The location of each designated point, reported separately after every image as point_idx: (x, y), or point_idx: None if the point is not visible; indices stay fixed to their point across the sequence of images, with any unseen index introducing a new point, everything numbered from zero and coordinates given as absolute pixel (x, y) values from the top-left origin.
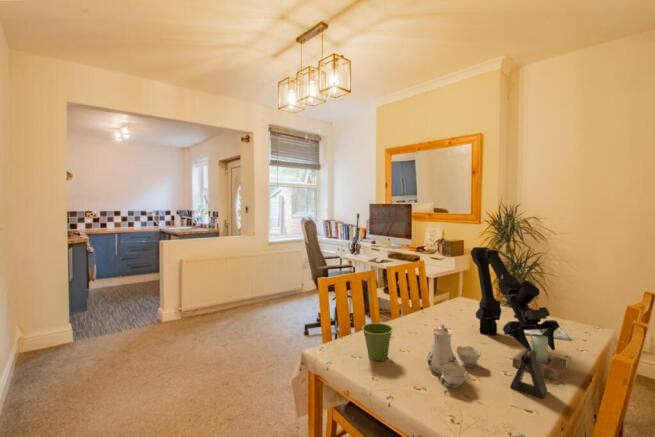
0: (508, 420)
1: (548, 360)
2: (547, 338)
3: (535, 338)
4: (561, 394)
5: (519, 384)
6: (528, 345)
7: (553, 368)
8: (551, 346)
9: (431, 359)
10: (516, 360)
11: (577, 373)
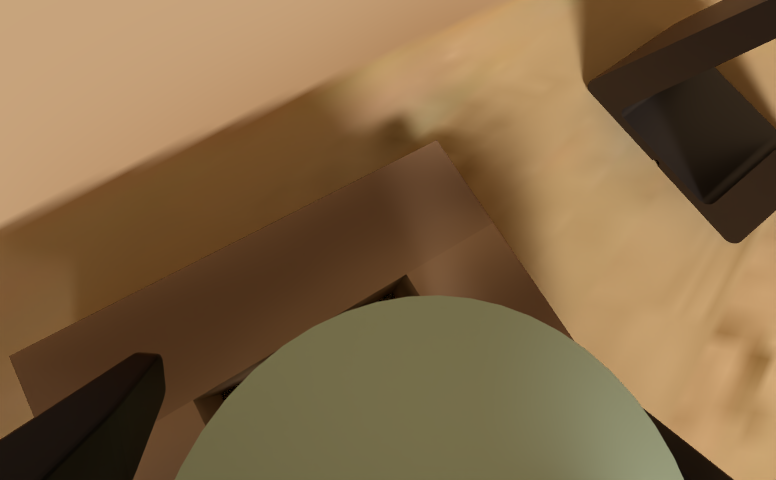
0: None
1: None
2: (290, 357)
3: (667, 475)
4: (522, 37)
5: (746, 170)
6: (699, 459)
7: (404, 191)
8: (132, 430)
9: None
10: None
11: (89, 235)
